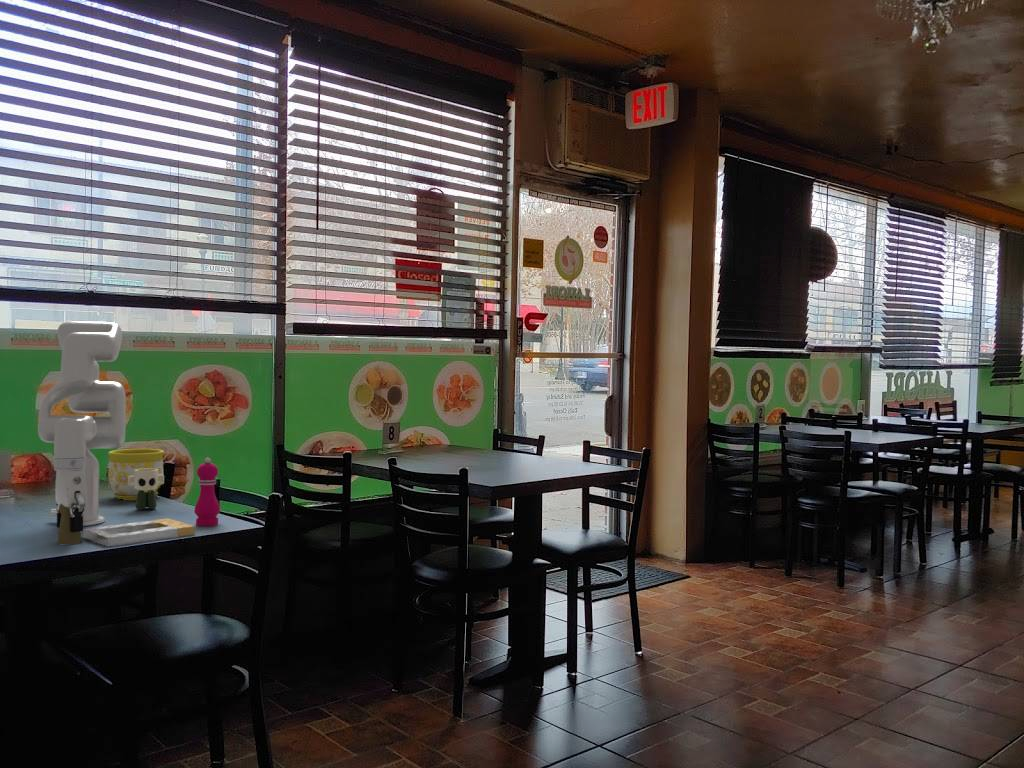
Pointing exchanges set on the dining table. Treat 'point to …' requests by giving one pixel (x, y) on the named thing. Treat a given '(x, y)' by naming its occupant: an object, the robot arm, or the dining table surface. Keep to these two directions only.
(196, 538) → the dining table surface
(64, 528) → the brown shaker
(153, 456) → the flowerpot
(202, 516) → the pepper mill
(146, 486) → the character mug
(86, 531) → the white and tan tray
